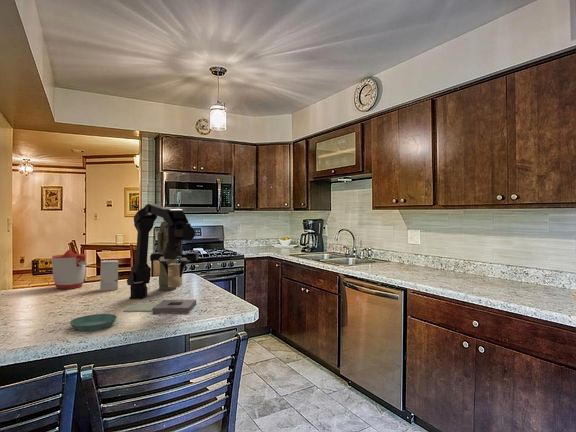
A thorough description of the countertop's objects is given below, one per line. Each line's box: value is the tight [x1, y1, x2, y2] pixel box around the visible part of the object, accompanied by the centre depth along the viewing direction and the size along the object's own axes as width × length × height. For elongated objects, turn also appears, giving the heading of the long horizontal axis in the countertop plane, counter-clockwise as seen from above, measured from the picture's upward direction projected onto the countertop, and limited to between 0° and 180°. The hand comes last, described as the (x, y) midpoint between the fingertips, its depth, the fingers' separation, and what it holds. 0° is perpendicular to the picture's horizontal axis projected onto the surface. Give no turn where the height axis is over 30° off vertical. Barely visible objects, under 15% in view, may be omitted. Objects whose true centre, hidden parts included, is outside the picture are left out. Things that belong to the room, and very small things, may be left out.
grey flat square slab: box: [152, 299, 197, 314], centre depth 155 cm, size 14×14×2 cm
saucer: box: [69, 313, 118, 332], centre depth 132 cm, size 15×15×3 cm
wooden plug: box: [168, 262, 183, 288], centre depth 155 cm, size 4×4×9 cm
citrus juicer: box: [51, 249, 88, 290], centre depth 200 cm, size 16×17×20 cm
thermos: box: [156, 220, 178, 292], centre depth 195 cm, size 9×12×35 cm
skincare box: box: [99, 259, 119, 292], centre depth 194 cm, size 8×6×15 cm
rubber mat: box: [123, 303, 158, 313], centre depth 156 cm, size 11×11×1 cm
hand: (175, 277), depth 155 cm, fingers closed on wooden plug, 4 cm apart
